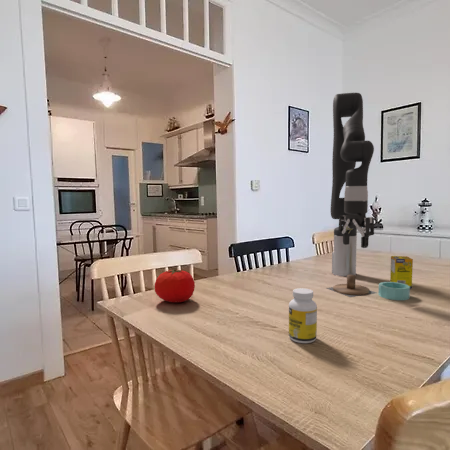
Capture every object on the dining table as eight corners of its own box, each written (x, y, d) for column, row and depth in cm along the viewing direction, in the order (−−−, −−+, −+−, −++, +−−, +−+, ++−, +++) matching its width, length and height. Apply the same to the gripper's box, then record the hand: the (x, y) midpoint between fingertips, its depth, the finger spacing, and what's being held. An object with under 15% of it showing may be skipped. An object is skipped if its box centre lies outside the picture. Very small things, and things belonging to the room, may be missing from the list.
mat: (326, 289, 121) (326, 288, 120) (351, 285, 125) (351, 284, 125) (350, 298, 109) (350, 297, 109) (377, 293, 114) (377, 292, 114)
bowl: (372, 295, 113) (373, 283, 112) (392, 292, 116) (392, 280, 116) (395, 302, 104) (395, 290, 104) (415, 299, 108) (416, 287, 107)
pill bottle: (285, 333, 82) (285, 287, 81) (311, 332, 82) (311, 286, 81) (293, 345, 75) (293, 295, 74) (320, 343, 76) (321, 294, 75)
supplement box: (412, 288, 120) (413, 258, 119) (394, 287, 121) (395, 258, 120) (406, 284, 126) (407, 256, 125) (389, 283, 127) (390, 255, 126)
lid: (326, 288, 120) (326, 273, 120) (351, 284, 125) (352, 270, 125) (350, 297, 109) (350, 281, 109) (377, 292, 114) (377, 277, 113)
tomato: (201, 297, 112) (200, 267, 111) (185, 309, 101) (184, 275, 100) (166, 294, 117) (165, 264, 116) (147, 305, 105) (146, 272, 104)
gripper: (333, 199, 119) (332, 244, 121) (363, 199, 106) (362, 249, 108) (349, 199, 122) (348, 242, 124) (380, 199, 109) (379, 248, 110)
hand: (355, 246), depth 116 cm, fingers open, 8 cm apart
